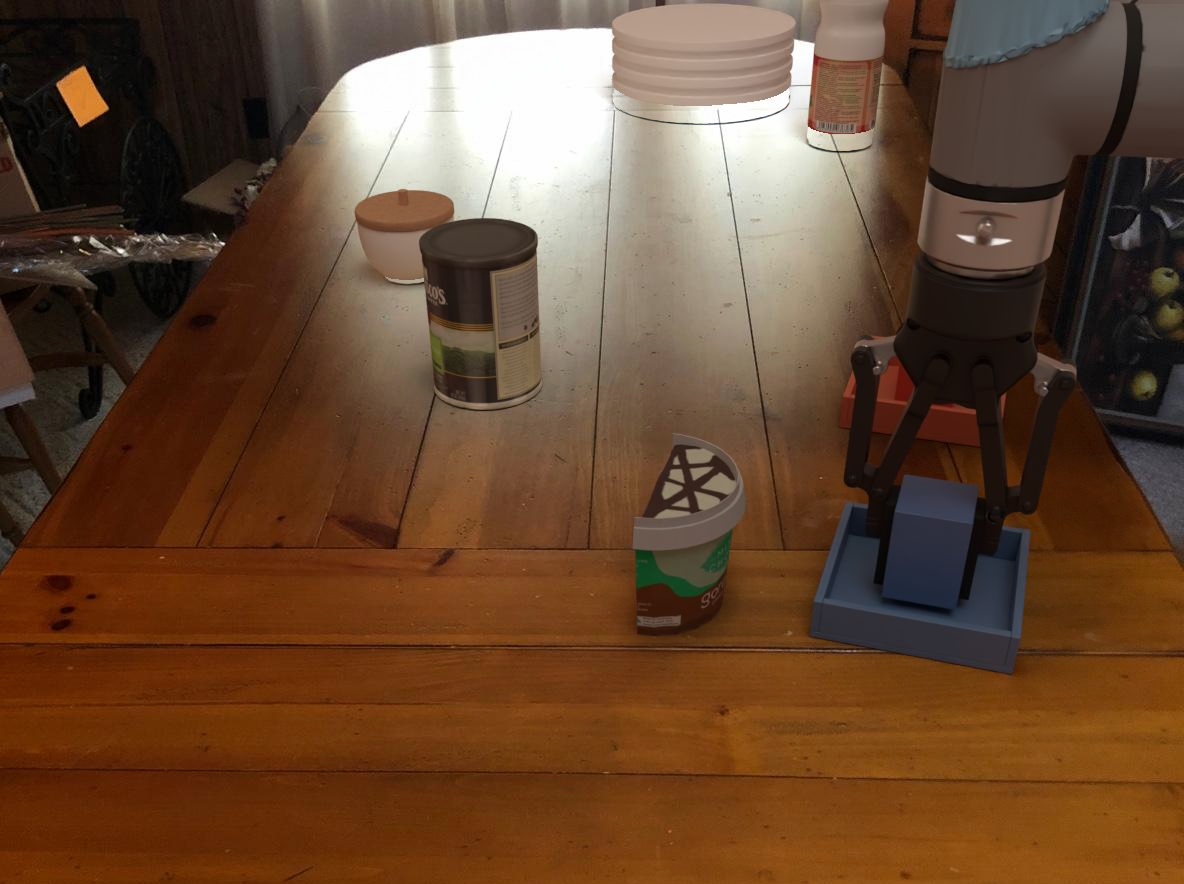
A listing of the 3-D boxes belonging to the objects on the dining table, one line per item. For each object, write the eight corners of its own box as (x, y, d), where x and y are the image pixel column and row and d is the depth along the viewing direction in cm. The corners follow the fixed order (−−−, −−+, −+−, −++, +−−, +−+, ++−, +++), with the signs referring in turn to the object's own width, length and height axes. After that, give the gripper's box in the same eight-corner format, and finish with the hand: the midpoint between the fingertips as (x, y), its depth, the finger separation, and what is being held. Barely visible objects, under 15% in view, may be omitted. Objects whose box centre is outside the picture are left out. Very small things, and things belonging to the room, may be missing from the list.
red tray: (1006, 381, 112) (1012, 351, 111) (996, 449, 102) (1002, 417, 101) (862, 363, 116) (865, 334, 114) (838, 427, 106) (842, 396, 104)
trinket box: (345, 272, 137) (333, 189, 132) (425, 250, 143) (418, 168, 137) (395, 301, 130) (385, 214, 125) (478, 276, 136) (471, 191, 130)
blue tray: (1022, 564, 89) (1030, 529, 87) (1012, 674, 79) (1021, 638, 77) (841, 534, 93) (845, 500, 91) (809, 636, 83) (813, 601, 81)
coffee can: (443, 417, 109) (428, 265, 101) (426, 369, 117) (411, 224, 109) (555, 402, 111) (549, 251, 102) (531, 355, 119) (524, 212, 111)
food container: (721, 661, 81) (730, 535, 75) (631, 646, 82) (632, 521, 76) (752, 559, 90) (762, 439, 84) (671, 547, 92) (674, 429, 86)
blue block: (962, 570, 86) (979, 484, 82) (955, 610, 82) (973, 523, 78) (890, 558, 88) (904, 473, 83) (881, 597, 84) (894, 510, 80)
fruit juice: (828, 156, 168) (850, -73, 152) (793, 139, 175) (811, -82, 159) (886, 148, 171) (914, -79, 155) (849, 131, 178) (872, -87, 162)
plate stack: (824, 95, 194) (831, 17, 187) (718, 135, 178) (722, 51, 171) (685, 70, 209) (687, -4, 203) (576, 104, 193) (574, 25, 186)
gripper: (816, 262, 71) (783, 587, 84) (1148, 297, 66) (1056, 637, 80) (837, 219, 76) (804, 531, 90) (1145, 249, 71) (1060, 573, 85)
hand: (922, 580), depth 85 cm, fingers closed on blue block, 5 cm apart
